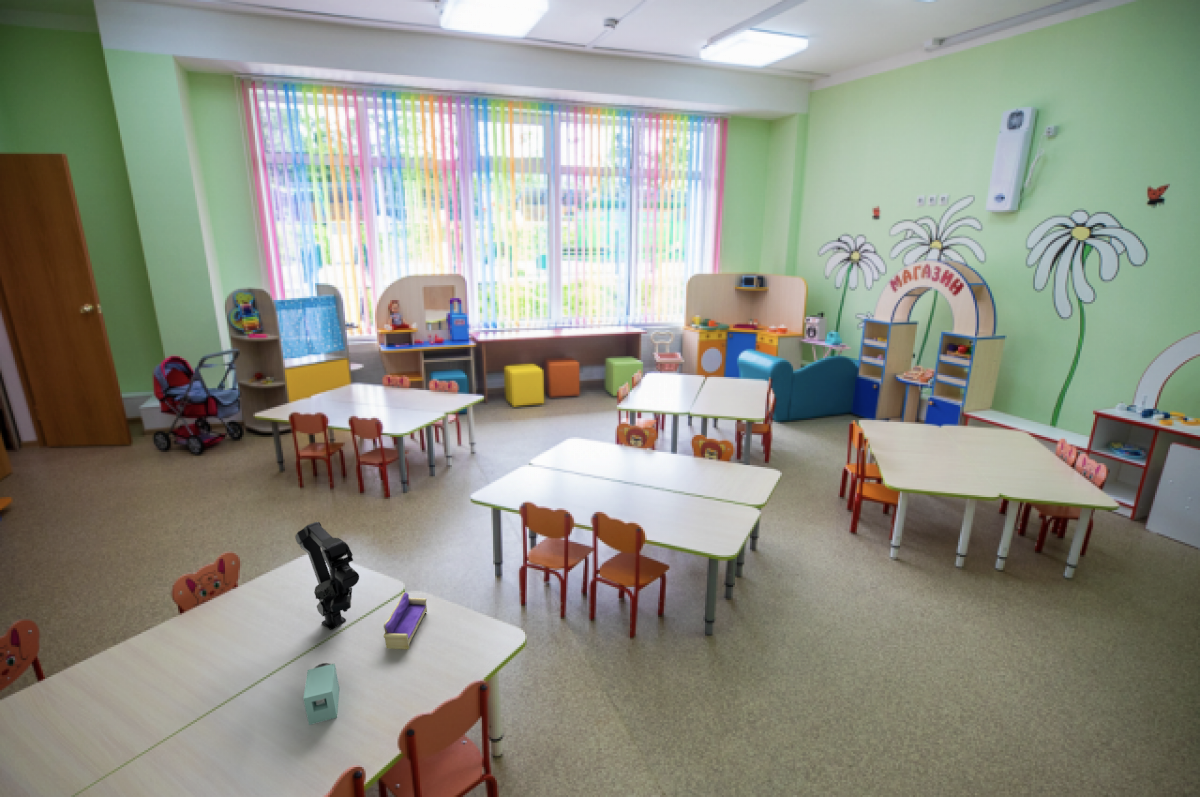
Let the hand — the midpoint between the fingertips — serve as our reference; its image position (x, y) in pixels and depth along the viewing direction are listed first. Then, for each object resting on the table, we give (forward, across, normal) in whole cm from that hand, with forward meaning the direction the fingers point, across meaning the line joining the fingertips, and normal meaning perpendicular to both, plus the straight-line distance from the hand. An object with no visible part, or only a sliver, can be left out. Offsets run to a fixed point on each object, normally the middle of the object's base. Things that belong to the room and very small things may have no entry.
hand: (345, 611), depth 207 cm
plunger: (+10, +27, -6) cm, 30 cm away
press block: (+13, +29, -6) cm, 32 cm away
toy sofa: (+14, +2, +20) cm, 24 cm away
